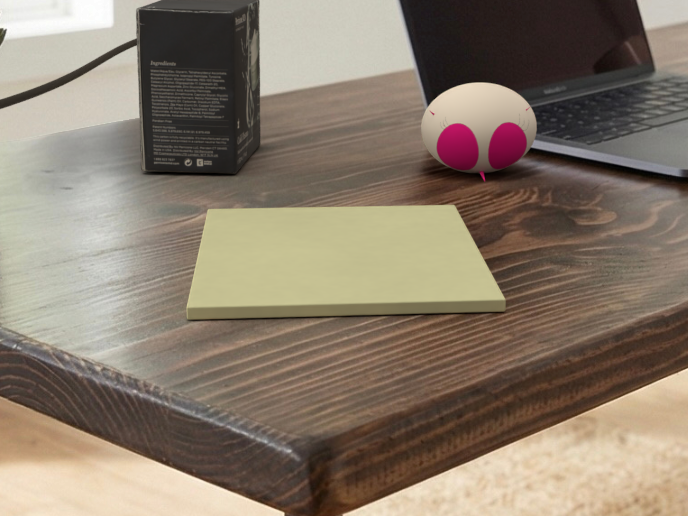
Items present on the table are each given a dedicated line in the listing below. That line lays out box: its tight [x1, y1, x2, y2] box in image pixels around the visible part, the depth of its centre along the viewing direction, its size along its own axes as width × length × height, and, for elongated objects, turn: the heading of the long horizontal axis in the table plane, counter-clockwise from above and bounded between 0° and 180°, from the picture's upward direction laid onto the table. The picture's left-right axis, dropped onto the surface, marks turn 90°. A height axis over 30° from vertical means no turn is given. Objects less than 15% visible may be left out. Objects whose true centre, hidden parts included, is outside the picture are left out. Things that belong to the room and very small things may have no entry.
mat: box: [185, 204, 507, 321], centre depth 65 cm, size 18×14×1 cm
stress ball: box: [420, 82, 538, 182], centre depth 85 cm, size 8×8×7 cm
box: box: [135, 0, 262, 174], centre depth 87 cm, size 11×7×10 cm, turn 178°
